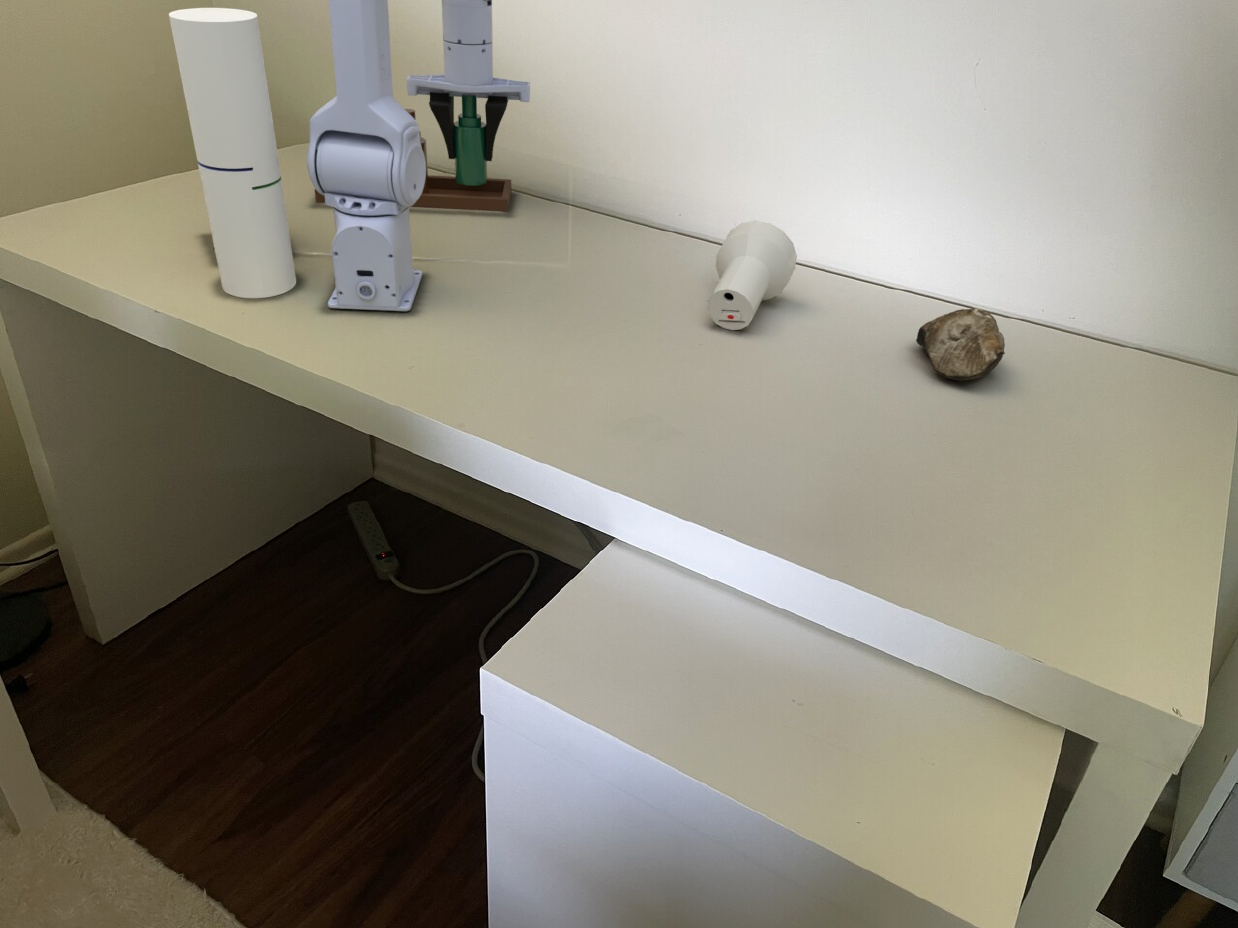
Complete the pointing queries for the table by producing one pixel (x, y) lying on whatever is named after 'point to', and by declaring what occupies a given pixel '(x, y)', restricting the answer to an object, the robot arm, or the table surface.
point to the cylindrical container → (235, 148)
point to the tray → (461, 195)
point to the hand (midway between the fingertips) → (471, 158)
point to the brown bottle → (424, 148)
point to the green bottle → (470, 145)
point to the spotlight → (750, 272)
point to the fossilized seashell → (963, 344)
